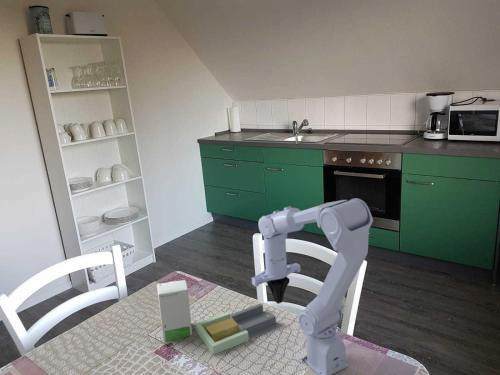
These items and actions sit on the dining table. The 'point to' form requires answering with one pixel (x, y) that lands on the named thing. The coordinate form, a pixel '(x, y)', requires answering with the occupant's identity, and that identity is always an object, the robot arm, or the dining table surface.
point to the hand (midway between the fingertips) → (278, 301)
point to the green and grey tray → (248, 322)
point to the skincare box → (174, 310)
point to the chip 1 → (216, 332)
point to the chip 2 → (230, 327)
